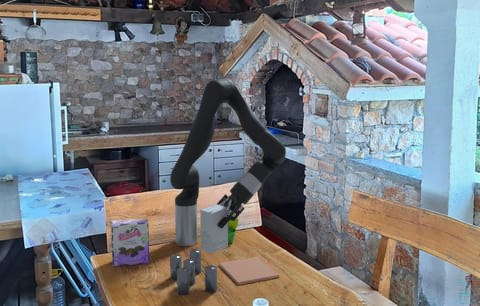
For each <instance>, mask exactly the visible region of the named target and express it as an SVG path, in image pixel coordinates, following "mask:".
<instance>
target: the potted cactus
mask: <svg viewBox="0 0 480 306" xmlns="http://www.w3.org/2000/svg"><path fill="white" fill-rule="evenodd" d="M233 217H234V216H233ZM239 221H240V218H239V216H238V217H237V218H236V219H235V220H234V221H232V220H231V221H229V222H228V244H233V243H234V238H235V235H236V231H237V229H238V226H239Z"/></svg>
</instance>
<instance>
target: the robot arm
mask: <svg viewBox="0 0 480 306" xmlns="http://www.w3.org/2000/svg"><path fill="white" fill-rule="evenodd" d="M222 104H228V106H230V107H231V109H233V110H234V112H235V113H236V116H237V117H238V118H237V119H238V121H239V124H240V127H241V129H242V131H243V132H244V133H245V134H246V136H247V137H248V138H249V139H250V140H251V141H252V143H253V144H254V145H256V146H258V147H259V148H260V149H261V150H262V151H263V153H264V155H263V156H262V157H261V158H260V159H259V160H258V161H255V162H254V163H253V165H251V166H250V168H249V169H248V170H247V171H246V172H245V173H244V174H243V175H242V176H241V177H240V178H239V179H238V181H236V182H235V183H234V185H233V186H232V187H231V189H229V191H230V195H227V194H226V193H225V194H224V195H223V196H222V197H221V198H220V200H218V201H217V203H216V204H217V205H220V206H223V207H226V208H227V209H226V215H225V217H223V218H222V219H221V221H220V222H219V223H218V226H219V227H220V228H221V229H222V228H223V227H224V226H225V225H226V224H227V223H228V222H229V221H231V220H232V221H234V220H235V219H236V218H237V217H238V218H239V216H240V215H241V214H242V213H243V211H244V210H245V207H244V206H243V205H248V203H249V202H250V201H251V199H252V198H253V197H254V196H255V195H256V193H257V192H258V191H259V190H260V188H261V186H262V185H263V184H264V183H265V182H266V181H267V179H268V178H269V177H270V175H271V174H272V173H273V172H275V171H277V169H278V168H279V167H280V166H281V164H282V163H283V162H284V161H285V159H286V155H287V150H286V147H285V145H284V144H283V143H282V142H281V140H280V139H279V138H277V137H276V136H275V135H274V134H273V133H271V132H270V131H269V128H267V127H266V125H265V124H264V123H263V122H262V121H261V120H260V119H259V118H258V116H257V114H255V113H254V112H253V110H252V109H251V107H250V105H249V104H248V102H247V101H246V99H245V98H244V97H243V95H242V93H241V92H240V90H239V88H238V86H236V84H235V83H234V82H233V81H232V80H231V79H230V78H225V77H223V78H217V79H213V80H210V81H209V82H208V83H207V84H206V85H205V88H204V91H203V93H202V97H201V101H200V105H199V108H198V110H197V113H196V116H195V119H194V121H193V124H192V126H191V128H190V130H189V133H188V134H187V135H188V136H187V139H186V141H185V143H184V146H183V148H182V150H181V153H180V155H179V157H178V159H177V161H176V162H175V164H174V166H173V169H172V170H171V173H170V176H169V177H170V179H169V180H170V185H171V187H172V188H174V190H181V192H180V193H179V194H177V195H176V197H175V198H174V214H175V216H174V218H175V219H174V221H175V222H174V223H175V224H174V225H175V228H174V229H175V244H176V245H177V246H181V247H191V246H195V245H196V244H197V243H198V199H199V196H200V195H199V194H200V174H199V170H198V169H197V167H196V166H195V165H194V164H195V163H196V162H197V161H198V160H199V159H200V158H201V157H202V156H203V155H204V154H205V152H207V151H208V149H209V148H210V146H211V143H212V141H213V138H214V137H215V117H216V114H217V111H218V109H219V108H220V106H221V105H222ZM233 216H234V217H233Z"/></svg>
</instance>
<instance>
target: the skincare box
mask: <svg viewBox="0 0 480 306" xmlns="http://www.w3.org/2000/svg"><path fill="white" fill-rule="evenodd" d="M226 209H227V208H226V207H223V206H220V205H217V203H216V204H214V205H210V206H208V207H205V208H202V209H200V213H199V214H200V215H199V216H200V250H201V251H205V252H207V253H210V254H214V253H217V252H219V251H221V250H223V249H226V248H228V247H229V243H228V223H227V224H226V225H225V226H224V227H223V228H222V229H221V228H220V227H219V226H218V223H219V222H220V221H221V219H222V218H223V217H225V215H226Z"/></svg>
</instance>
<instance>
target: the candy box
mask: <svg viewBox="0 0 480 306" xmlns="http://www.w3.org/2000/svg"><path fill="white" fill-rule="evenodd" d="M149 227H150V226H149V219H148V218H135V219H120V220H110V232H111V233H110V234H111V236H110V237H111V238H110V239H111V244H110V245H111V263H112V267H113V268H114V267H122V266H123V267H124V266H133V265H134V266H135V265H143V264H144V265H145V264H150V232H149V229H150V228H149Z"/></svg>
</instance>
